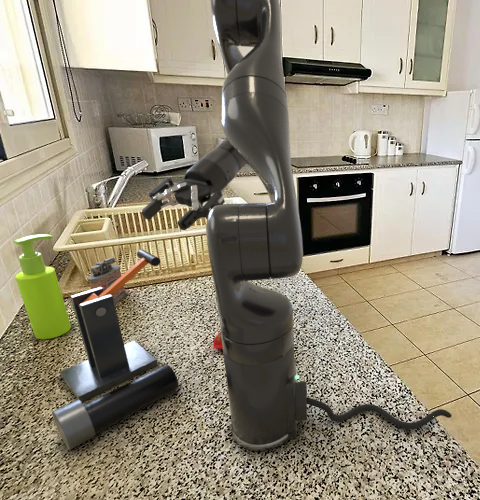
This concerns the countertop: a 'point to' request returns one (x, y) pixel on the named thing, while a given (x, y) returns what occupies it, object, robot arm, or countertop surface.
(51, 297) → the soap dispenser
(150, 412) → the countertop surface
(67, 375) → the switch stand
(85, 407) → the flashlight
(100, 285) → the lighter
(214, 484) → the countertop surface
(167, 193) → the robot arm
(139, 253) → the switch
